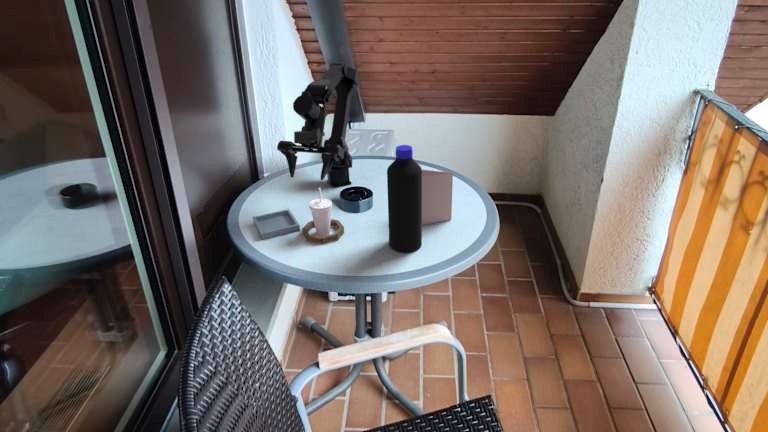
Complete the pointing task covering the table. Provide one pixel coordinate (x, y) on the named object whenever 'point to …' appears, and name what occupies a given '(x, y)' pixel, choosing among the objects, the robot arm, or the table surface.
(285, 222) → the tray
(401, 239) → the bottle
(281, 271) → the table surface
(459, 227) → the table surface
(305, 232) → the collar
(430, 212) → the greeting card
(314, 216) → the smoothie
